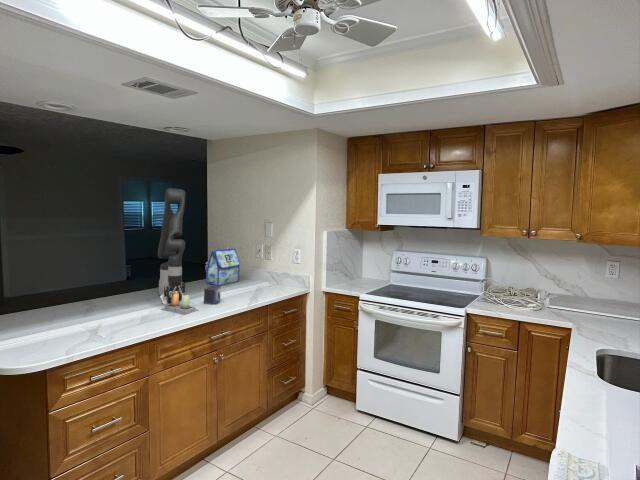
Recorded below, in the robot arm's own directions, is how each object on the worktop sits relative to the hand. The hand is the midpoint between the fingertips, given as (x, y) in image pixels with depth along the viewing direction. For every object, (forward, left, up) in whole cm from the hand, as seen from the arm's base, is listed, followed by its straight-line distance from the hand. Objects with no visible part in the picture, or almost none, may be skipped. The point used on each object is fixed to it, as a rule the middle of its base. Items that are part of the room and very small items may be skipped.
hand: (174, 302), depth 231 cm
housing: (+4, 0, -5) cm, 6 cm away
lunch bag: (-23, +73, -5) cm, 77 cm away
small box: (+8, +23, -5) cm, 25 cm away
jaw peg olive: (+8, 0, -4) cm, 9 cm away
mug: (-13, +9, -5) cm, 16 cm away
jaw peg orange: (0, 0, -4) cm, 4 cm away
